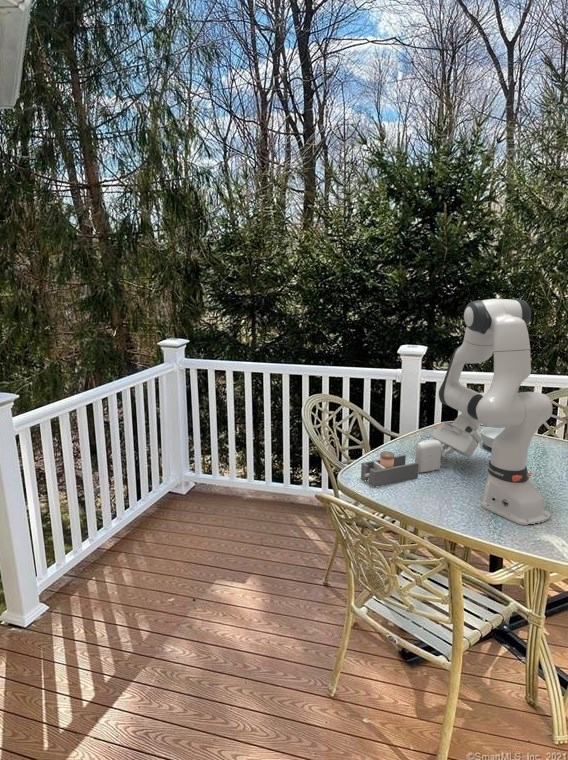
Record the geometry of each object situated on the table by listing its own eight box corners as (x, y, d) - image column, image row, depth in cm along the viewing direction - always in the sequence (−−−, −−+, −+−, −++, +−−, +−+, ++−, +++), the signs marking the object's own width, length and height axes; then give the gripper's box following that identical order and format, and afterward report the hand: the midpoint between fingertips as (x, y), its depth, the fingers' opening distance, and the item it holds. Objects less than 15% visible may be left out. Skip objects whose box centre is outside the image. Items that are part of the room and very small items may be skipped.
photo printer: (418, 473, 206) (420, 443, 202) (412, 469, 210) (414, 439, 206) (441, 470, 209) (444, 440, 206) (435, 465, 213) (437, 436, 210)
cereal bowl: (471, 444, 235) (472, 429, 233) (499, 438, 241) (500, 423, 240) (501, 458, 220) (502, 442, 218) (530, 451, 227) (532, 436, 225)
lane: (417, 477, 202) (418, 463, 201) (374, 487, 195) (374, 472, 193) (403, 468, 210) (404, 454, 209) (360, 477, 202) (361, 463, 201)
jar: (395, 480, 201) (397, 455, 198) (384, 482, 198) (385, 457, 196) (387, 474, 205) (389, 450, 202) (376, 477, 203) (377, 452, 200)
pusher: (384, 482, 198) (385, 467, 196) (369, 486, 195) (370, 470, 194) (375, 475, 203) (375, 461, 202) (360, 479, 201) (361, 464, 199)
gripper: (441, 416, 220) (420, 442, 218) (477, 432, 201) (454, 460, 200) (449, 425, 222) (428, 450, 221) (485, 441, 204) (463, 469, 203)
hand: (441, 455), depth 211 cm, fingers closed
